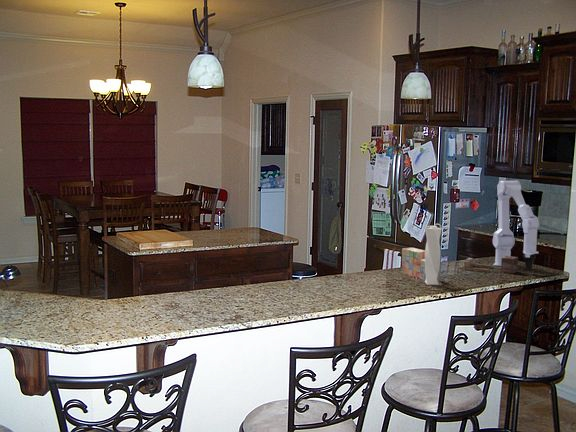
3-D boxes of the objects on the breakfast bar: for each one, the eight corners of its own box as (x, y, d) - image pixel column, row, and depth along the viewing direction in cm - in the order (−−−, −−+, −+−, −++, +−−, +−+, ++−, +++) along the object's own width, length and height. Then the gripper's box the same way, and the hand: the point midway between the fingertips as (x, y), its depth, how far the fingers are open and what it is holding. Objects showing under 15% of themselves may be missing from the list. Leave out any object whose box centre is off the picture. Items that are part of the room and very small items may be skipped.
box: (517, 271, 317) (518, 257, 316) (512, 273, 313) (513, 258, 312) (505, 270, 321) (506, 255, 320) (500, 271, 317) (501, 257, 316)
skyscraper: (443, 286, 286) (445, 223, 283) (425, 286, 286) (427, 223, 283) (439, 282, 295) (441, 221, 291) (421, 282, 295) (423, 221, 291)
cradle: (469, 265, 332) (470, 256, 331) (492, 267, 326) (493, 258, 326) (464, 269, 321) (464, 260, 321) (488, 272, 316) (488, 262, 315)
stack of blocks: (439, 280, 297) (439, 254, 296) (427, 281, 295) (428, 255, 293) (411, 271, 317) (412, 247, 315) (401, 272, 314) (401, 247, 312)
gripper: (537, 245, 303) (535, 273, 304) (540, 240, 315) (539, 268, 317) (521, 243, 306) (519, 271, 308) (525, 239, 319) (524, 266, 320)
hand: (528, 269), depth 313 cm, fingers closed
